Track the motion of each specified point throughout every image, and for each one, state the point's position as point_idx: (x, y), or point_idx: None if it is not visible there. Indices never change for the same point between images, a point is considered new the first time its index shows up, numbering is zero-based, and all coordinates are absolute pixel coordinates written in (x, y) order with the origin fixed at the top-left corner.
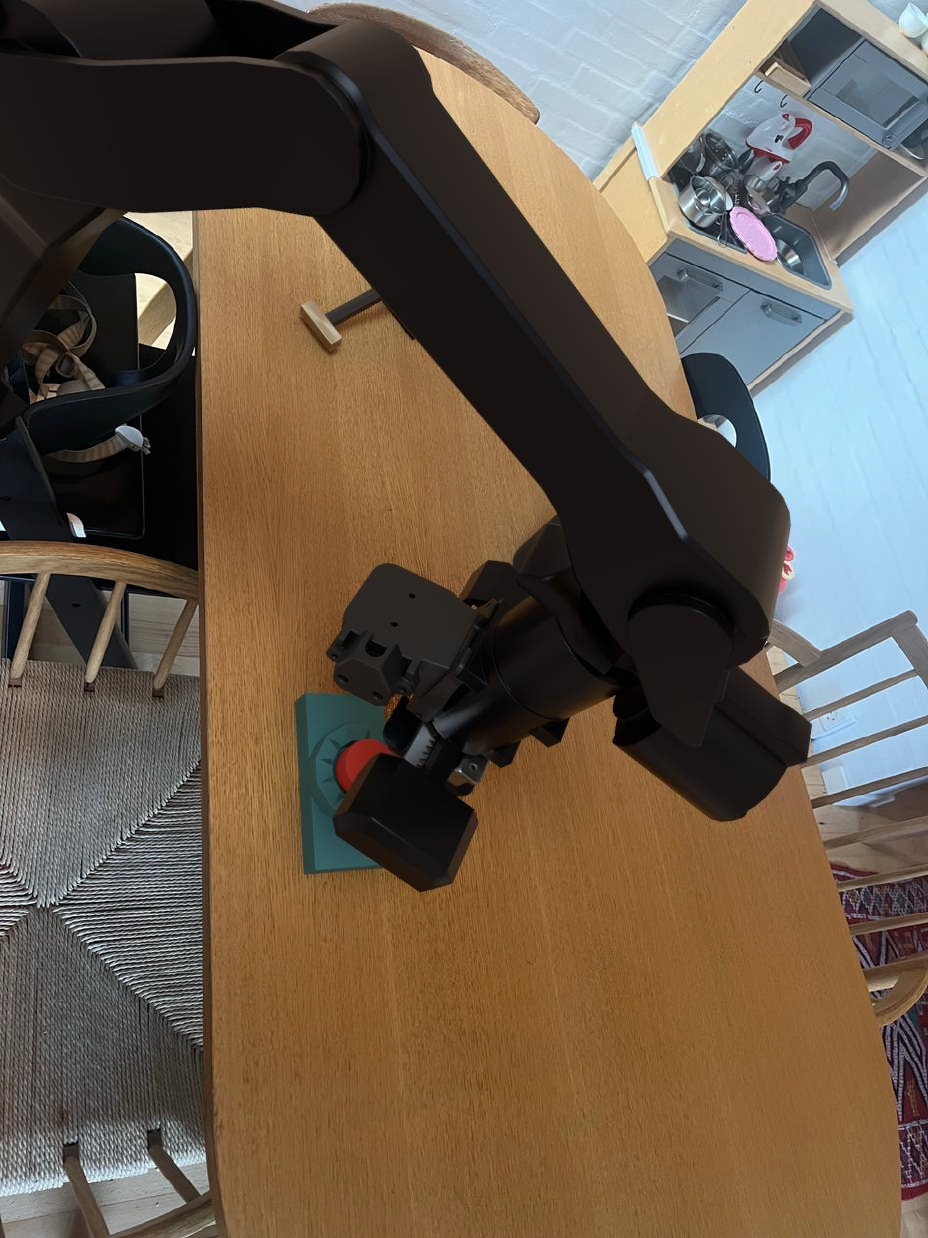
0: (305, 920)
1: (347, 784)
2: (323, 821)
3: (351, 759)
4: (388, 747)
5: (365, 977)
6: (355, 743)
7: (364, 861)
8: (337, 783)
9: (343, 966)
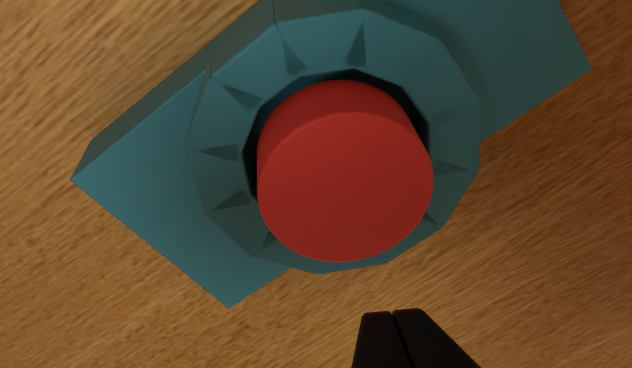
0: (24, 193)
1: (259, 158)
2: (177, 131)
3: (321, 137)
4: (358, 335)
5: (44, 326)
6: (379, 118)
7: (175, 254)
8: None
9: (25, 290)
